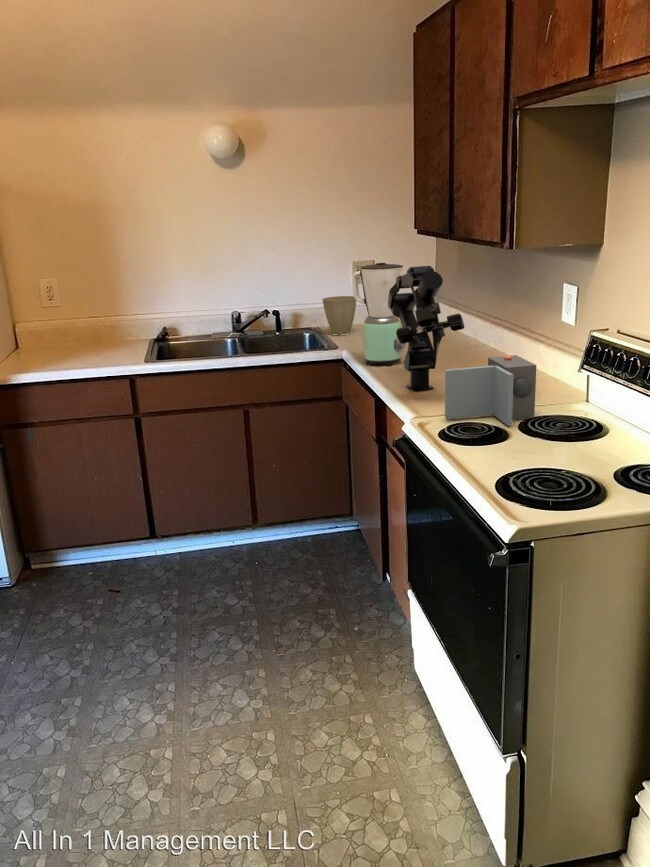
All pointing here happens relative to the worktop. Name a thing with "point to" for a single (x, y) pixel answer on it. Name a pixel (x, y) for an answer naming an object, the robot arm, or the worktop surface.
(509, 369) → the camera case
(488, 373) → the grey bookend
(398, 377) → the worktop surface
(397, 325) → the mint green blender
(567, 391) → the worktop surface
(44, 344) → the worktop surface
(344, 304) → the plant pot
